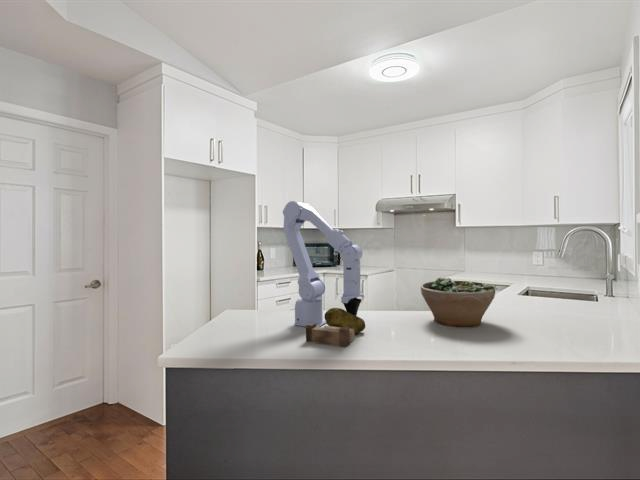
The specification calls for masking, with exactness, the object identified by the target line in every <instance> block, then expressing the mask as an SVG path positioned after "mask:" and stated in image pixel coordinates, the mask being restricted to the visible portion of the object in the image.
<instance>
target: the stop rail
mask: <svg viewBox="0 0 640 480" xmlns="http://www.w3.org/2000/svg"><path fill="white" fill-rule="evenodd" d="M305 342H307V343H308V342H309V343H314V344H322V345H329V346H335V347H345V348H347V347H348V346H350V342H349V327H342V328H340V329H330V328H324V327H322V326H320V327H316V323H309V324H307V325H306V326H305Z"/></svg>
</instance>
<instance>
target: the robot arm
mask: <svg viewBox="0 0 640 480" xmlns="http://www.w3.org/2000/svg"><path fill="white" fill-rule="evenodd" d="M282 215H283V232H284V235H285V238H286V241H287V243H288V247H289V249H290V253H291V256H292V258H293V261H294V263H295V267H296V269H297V272H298V275H299V276H298V279H297V285H298V295H299V296H300V298H298V299H297V300H296V301H295V304H294V323H293V325H294V326H298V327H299V326H300V327H306V325H307V324H309V323H316V327H322V326H323V325H325V324H327V323H326V321H325V320H323V318H324V317H323V316H324V315H323V295H324V293H325V291H326V284H325V283H324V281H323V280H322V279H321V278H320V275H319V274H318V273H317V272H316V271H315V270H314V267H313V264H312V262H311V259H310V255H309V253H308V250H307V248H306V244H305V241H304V239H303V236H302V234H301V231H300V230H301V228H302V226H303V224H304V223H305V222H310V223H311V225H314V227H315V228H317V229H318V231H320V232H321V233H322V234H324V235H325V237H326V239H325V240H326V242H327V243H328V244H329V245H330V246H331V247H332V248H333V249H334V250H335V251H336V252H337V253H338V254H339V255H340V258H341V260H342V262H343V263H342V265H343V267H342V268H343V277H342V278H343V281H342V283H343V286H342V287H343V289H342V292H343V293H342V296H341V297H340V298H341V299H340V302H341V304H343V306H344V308H345V311H346V312H348V313H350V314H353V315H355V316H357V317H358V310H359V307H360V305H361V303H362V301H363V300H362V298H361V297H364V296H365V294H364V293H362V291H363V290H362V289H361V259H362V257H363V250H362V247H360V245H359V244H357V243H354V240H352V239H350V238H348V237H347V236H346V235H345V234H344V233H345V232H344V231H343V230H342V229H339V228H334V229H333V227H331V225H329V223H328V222H327V221H326V220H325V219H324V218H323V217H322V216H321V215H320V214H319V213H318V212H317V211H316V208H314V207H313V206H311V205H310V204H309V203H308V202H303V201H302V202H301V201H299V202H298V201H294V200H291V201H287V203H286V204H285V206H284V208H283V210H282Z"/></svg>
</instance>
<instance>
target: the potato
mask: <svg viewBox="0 0 640 480" xmlns="http://www.w3.org/2000/svg"><path fill="white" fill-rule="evenodd" d="M323 316H324V317H323V318H324V321H326V323H325V324H326V325H327V326H332V327H341V328H342V327H349V329H354V334H358V333H361V332H363V331H364V330H365V328H366V323H365V320H364V319H363V318H361V317H359V316H358V315H357V316H355V315H353V314H350V313H348V312H347V311H346V309H343V308H339V307H332V308H329V309H328V310H326V311H325V313H324V315H323Z"/></svg>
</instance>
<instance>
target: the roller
mask: <svg viewBox="0 0 640 480" xmlns="http://www.w3.org/2000/svg"><path fill="white" fill-rule="evenodd" d="M323 328H330V329H340V328H341V327H332V326H328V325H324V326H323ZM354 339H355V333H354V329H349V343H353V342H354Z"/></svg>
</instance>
